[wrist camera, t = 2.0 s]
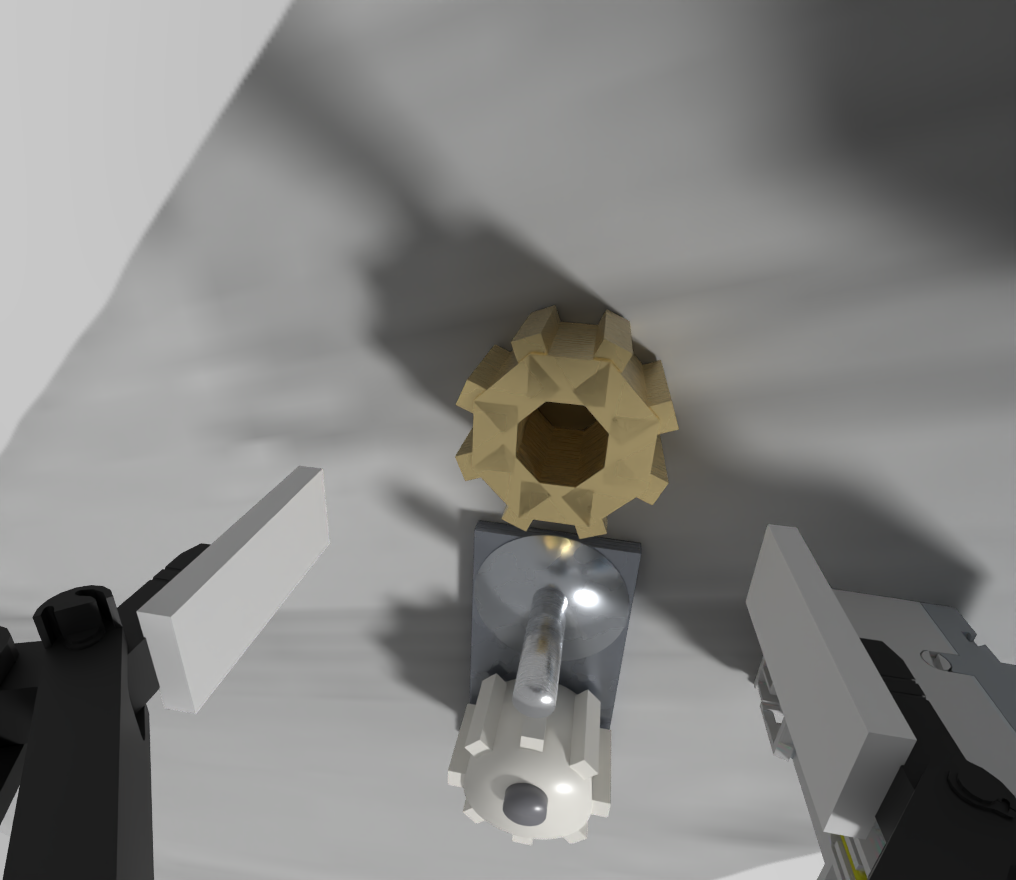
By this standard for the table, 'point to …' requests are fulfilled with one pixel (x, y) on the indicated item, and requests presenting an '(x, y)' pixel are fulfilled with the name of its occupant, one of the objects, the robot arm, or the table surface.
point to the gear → (533, 764)
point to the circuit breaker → (947, 685)
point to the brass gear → (565, 452)
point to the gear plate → (569, 671)
